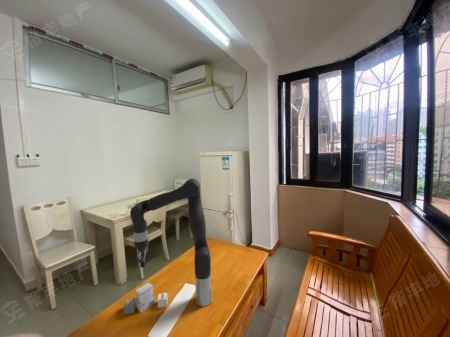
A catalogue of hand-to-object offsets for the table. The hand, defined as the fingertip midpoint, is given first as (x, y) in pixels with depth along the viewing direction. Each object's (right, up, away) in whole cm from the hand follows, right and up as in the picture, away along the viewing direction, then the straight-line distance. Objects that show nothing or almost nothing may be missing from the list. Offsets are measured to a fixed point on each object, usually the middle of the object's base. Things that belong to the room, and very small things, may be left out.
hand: (142, 266), depth 108 cm
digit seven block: (-7, -25, 0) cm, 26 cm away
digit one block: (+10, -25, +4) cm, 27 cm away
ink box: (0, -25, +3) cm, 25 cm away
